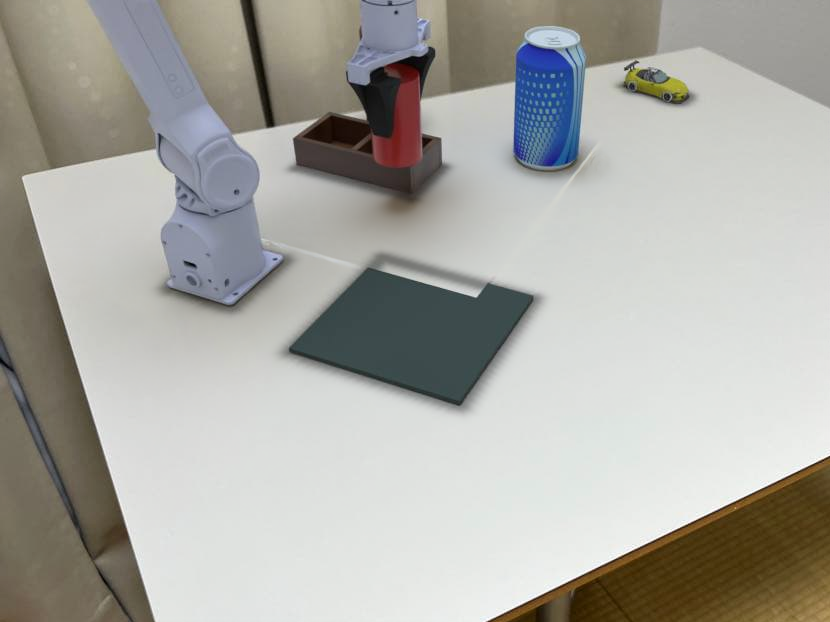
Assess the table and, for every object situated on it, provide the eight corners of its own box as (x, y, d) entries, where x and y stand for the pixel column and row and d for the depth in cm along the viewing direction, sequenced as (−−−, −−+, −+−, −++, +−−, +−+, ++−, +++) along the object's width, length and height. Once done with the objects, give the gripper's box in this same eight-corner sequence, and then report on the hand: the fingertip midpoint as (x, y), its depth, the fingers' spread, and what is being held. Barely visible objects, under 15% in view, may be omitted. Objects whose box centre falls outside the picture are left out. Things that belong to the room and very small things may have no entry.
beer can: (501, 165, 114) (503, 39, 103) (531, 139, 120) (537, 18, 109) (559, 182, 112) (568, 55, 101) (588, 156, 117) (599, 33, 106)
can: (408, 171, 99) (404, 88, 92) (363, 161, 100) (356, 77, 93) (431, 150, 102) (428, 69, 96) (387, 140, 104) (382, 59, 97)
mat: (459, 405, 81) (459, 401, 80) (289, 351, 85) (288, 347, 85) (533, 299, 93) (533, 295, 93) (381, 257, 97) (381, 253, 97)
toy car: (678, 106, 130) (681, 86, 128) (618, 87, 134) (621, 68, 132) (693, 94, 133) (696, 75, 131) (634, 77, 137) (637, 57, 135)
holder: (411, 198, 107) (409, 167, 104) (297, 168, 111) (292, 138, 108) (442, 168, 113) (441, 137, 110) (332, 141, 117) (329, 111, 114)
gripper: (388, 26, 83) (396, 159, 92) (454, -18, 93) (456, 106, 103) (323, 13, 85) (337, 145, 94) (394, -29, 95) (401, 94, 104)
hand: (395, 124), depth 99 cm, fingers closed on can, 5 cm apart
